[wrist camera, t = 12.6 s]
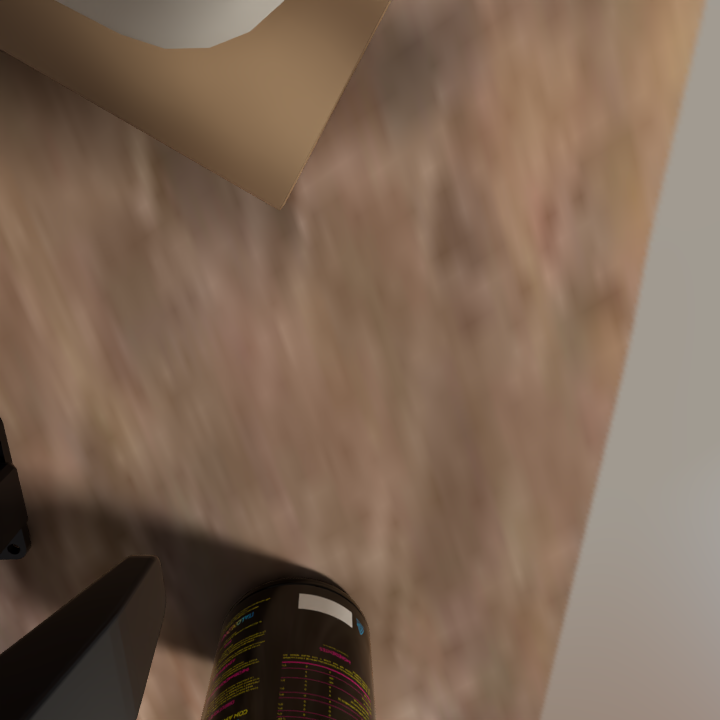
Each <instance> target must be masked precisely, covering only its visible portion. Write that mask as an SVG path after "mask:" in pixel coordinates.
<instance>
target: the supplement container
mask: <svg viewBox="0 0 720 720" xmlns="http://www.w3.org/2000/svg"><path fill="white" fill-rule="evenodd" d="M201 720H376V711H375V697H374V684H373V670H372V657H371V643H370V632H369V627H368V623H367V621H366V619H365V616H364V615H363V613H362V611H361V610H360V608H359V607H358V605H357V604H356V603H355V602H354V601H353V600H352V599H351V598H350V597H349V596H348V595H347V594H346V593H344V592H343V591H341V590H340V589H338V588H336V587H334V586H332V585H330V584H328V583H325V582H322V581H319V580H314V579H309V578H284V579H279V580H274V581H271V582H268V583H265V584H262V585H260V586H258V587H256V588H254V589H253V590H251V591H250V592H248V593H247V594H245V595H244V596H243V597H242V598H241V599H240V600H239V601H238V602H237V603H236V604H235V605H234V606H233V608H232V609H231V610H230V612H229V613H228V615H227V616H226V618H225V621H224V623H223V626H222V630H221V634H220V639H219V643H218V647H217V652H216V656H215V660H214V665H213V669H212V673H211V678H210V682H209V686H208V691H207V695H206V699H205V704H204V708H203V712H202V716H201Z"/></svg>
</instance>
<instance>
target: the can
mask: <svg viewBox="0 0 720 720" xmlns="http://www.w3.org/2000/svg"><path fill="white" fill-rule="evenodd" d="M55 1H57V2H59V3H61V4H63V5H65V6H67V7H69V8H71V9H73V10H75V11H77V12H78V13H80V14H82V15H84V16H86V17H88V18H90V19H92V20H94V21H96V22H98V23H100V24H102V25H103V26H105V27H107V28H109V29H111V30H113V31H115V32H117V33H119V34H121V35H124V36H127V37H130V38H133V39H136V40H140V41H143V42H146V43H149V44H152V45H155V46H158V47H161V48H164V49H179V48H210V47H213V46H215V45H218V44H220V43H223V42H225V41H228V40H230V39H233V38H235V37H238V36H240V35H243V34H245V33H248V32H250V31H251V30H252V29H253V28H254V27H256V26H257V25H258V24H259V23H260V22H261V21H262V20H263V19H264V18H266V17H267V16H268V15H269V14H270V13H271V12H272V11H273V10H274V9H276V8H277V7H278V6H279V5H280V4H281V3H282V2H283V1H284V0H55Z"/></svg>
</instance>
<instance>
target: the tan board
mask: <svg viewBox="0 0 720 720" xmlns="http://www.w3.org/2000/svg"><path fill="white" fill-rule="evenodd" d="M390 2H391V0H284V1H283V2H282V3H281V4H280V5H279V6H278V7H277V8H276V9H274V10H273V11H272V12H271V13H270V14H269V15H268V16H267V17H266V18H264V19H263V20H262V21H261V22H260V23H259V24H258V25H257V26H256V27H254V28H253V29H252V30H251V31H250V32H248V33H245V34H243V35H240V36H238V37H235V38H233V39H230V40H228V41H225V42H223V43H220V44H218V45H215V46H213V47H210V48H179V49H164V48H161V47H158V46H155V45H152V44H149V43H146V42H143V41H140V40H136V39H133V38H130V37H127V36H124V35H121V34H119V33H117V32H115V31H113V30H111V29H109V28H107V27H105V26H103V25H102V24H100V23H98V22H96V21H94V20H92V19H90V18H88V17H86V16H84V15H82V14H80V13H78V12H77V11H75V10H73V9H71V8H69V7H67V6H65V5H63V4H61V3H59V2H57V1H55V0H0V50H2V51H4V52H6V53H7V54H9V55H11V56H13V57H14V58H16V59H18V60H20V61H21V62H23V63H25V64H26V65H28V66H30V67H32V68H33V69H35V70H37V71H39V72H40V73H42V74H44V75H45V76H47V77H49V78H51V79H52V80H54V81H56V82H58V83H59V84H61V85H63V86H65V87H66V88H68V89H70V90H71V91H73V92H75V93H77V94H78V95H80V96H82V97H84V98H85V99H87V100H89V101H91V102H92V103H94V104H96V105H97V106H99V107H101V108H103V109H104V110H106V111H108V112H110V113H111V114H113V115H115V116H117V117H118V118H120V119H122V120H123V121H125V122H127V123H129V124H130V125H132V126H134V127H136V128H137V129H139V130H141V131H142V132H144V133H146V134H148V135H149V136H151V137H153V138H155V139H156V140H158V141H160V142H162V143H163V144H165V145H167V146H168V147H170V148H172V149H174V150H175V151H177V152H179V153H181V154H182V155H184V156H186V157H188V158H189V159H191V160H193V161H194V162H196V163H198V164H200V165H201V166H203V167H205V168H207V169H208V170H210V171H212V172H214V173H215V174H217V175H219V176H220V177H222V178H224V179H226V180H227V181H229V182H231V183H233V184H234V185H236V186H238V187H239V188H241V189H243V190H245V191H246V192H248V193H250V194H252V195H253V196H255V197H257V198H259V199H260V200H262V201H264V202H265V203H267V204H269V205H271V206H272V207H274V208H276V209H278V210H279V211H280V209H281V208H282V207H283V206H284V204H285V203H286V201H287V199H288V197H289V195H290V193H291V191H292V189H293V187H294V185H295V184H296V182H297V180H298V178H299V176H300V174H301V172H302V170H303V168H304V166H305V164H306V163H307V161H308V159H309V157H310V155H311V153H312V151H313V149H314V147H315V145H316V143H317V142H318V140H319V138H320V136H321V134H322V132H323V130H324V128H325V126H326V124H327V122H328V121H329V119H330V117H331V115H332V113H333V111H334V109H335V107H336V105H337V103H338V101H339V100H340V98H341V96H342V94H343V92H344V90H345V88H346V86H347V84H348V82H349V81H350V79H351V77H352V75H353V73H354V71H355V69H356V67H357V65H358V63H359V61H360V60H361V58H362V56H363V54H364V52H365V50H366V48H367V46H368V44H369V42H370V40H371V39H372V37H373V35H374V33H375V31H376V29H377V27H378V25H379V23H380V21H381V19H382V18H383V16H384V14H385V12H386V10H387V8H388V6H389V4H390Z"/></svg>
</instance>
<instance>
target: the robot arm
mask: <svg viewBox="0 0 720 720" xmlns="http://www.w3.org/2000/svg"><path fill="white" fill-rule="evenodd" d="M27 520H28V516H27V512H26V508H25V503H24V499H23V495H22V490H21V486H20V482H19V478H18V473H17V469H16V467H15V466H14V465H13V463H12V459H11V455H10V451H9V446H8V442H7V438H6V434H5V429H4V425H3V422H2V420H1V418H0V560H7V559H20V558H22V557H24V556H25V555H26V553H27V552H28V551H29V549H30V547H31V540H30V535H29V531H28V527H27V523H26V522H27ZM13 544H15V545H17V546H19V548H17V547H15V546H14V545H13ZM165 608H166V595H165V588H164V582H163V575H162V568H161V563H160V560H159V558H158V557H157V556H155V555H131V556H128V557H127V558H125V559H124V560H123V561H121V562H120V563H119V564H117V565H116V566H115V567H114V568H112V569H111V570H110V571H108V572H107V573H106V574H104V575H103V576H102V577H101V578H99V579H98V580H97V581H95V582H94V583H93V584H91V585H90V586H89V587H88V588H86V589H85V590H84V591H82V592H81V593H80V594H78V595H77V596H76V597H75V598H73V599H72V600H71V601H69V602H68V603H67V604H65V605H64V606H63V607H62V608H60V609H59V610H58V611H56V612H55V613H54V614H52V615H51V616H50V617H49V618H47V619H46V620H45V621H43V622H42V623H41V624H39V625H38V626H37V627H36V628H34V629H33V630H32V631H30V632H29V633H28V634H26V635H25V636H24V637H23V638H21V639H20V640H19V641H17V642H16V643H15V644H13V645H12V646H11V647H9V648H8V649H7V650H6V651H4V652H3V653H2V654H0V720H136V719H137V715H138V712H139V708H140V705H141V701H142V698H143V694H144V690H145V686H146V682H147V679H148V675H149V671H150V667H151V663H152V660H153V656H154V652H155V648H156V644H157V640H158V637H159V633H160V629H161V625H162V621H163V618H164V613H165Z"/></svg>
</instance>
